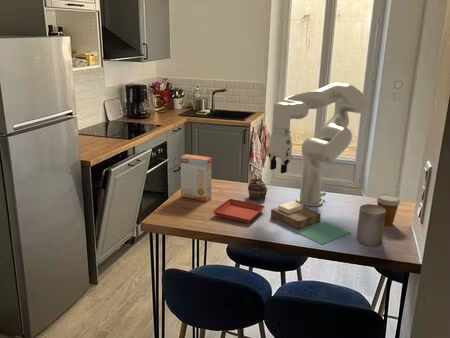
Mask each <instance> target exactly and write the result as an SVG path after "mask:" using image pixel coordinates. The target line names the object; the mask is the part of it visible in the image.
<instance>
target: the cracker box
mask: <svg viewBox="0 0 450 338" xmlns="http://www.w3.org/2000/svg"><path fill="white" fill-rule="evenodd" d="M212 159H213V158H212V157H211V156H210V157H209V156H205V155H203V156H202V155H196V154H188V153H185V154H184V155H181V156H180V195H181V196H180V197H181V198H184V197H185V198H186V199H191V200H197V201H202V202H208V201H209V200H210V199H212V170H213V169H212ZM185 198H184V199H185Z"/></svg>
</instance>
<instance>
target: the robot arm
mask: <svg viewBox="0 0 450 338" xmlns="http://www.w3.org/2000/svg"><path fill="white" fill-rule="evenodd" d="M331 104H334V113H333V115H332V117H331V118H330V119H329V120H328V121H327V122H326V123H325V124H324V125H323V126H322V127H321V128H320V130H319V131H318V133H317V138H316V137H308V138H306V139H305V140H304V141H303V142H302V145H301V156H302V157H301V158H302V167H301V168H302V169H301V180H300V190H299V191H300V192H299V193H300V194H299V196H297V197H296V201H295V202H297V203H299V204H302V205H303V207H304V206H305V207H319V206H322V205H323V203H324V200H323V199H322V197H324V196H326V195H327V194H326V191H322V180H323V179H322V178H323V169H324V168H323V163H326V164H329V163H333V162H334V161H335V160H336V159H337V158H338V157H339V156H340V155H341V154H342V153H343V152H344V151H345V150H346V149H347V148H348V147H349V145H350V143H351V141H352V137H353V133H352V131H351V130H350V129H349V128H348V126H349V124H350V120H349V113H353V114H354V113H355V114H363V113H366V112H367V111H368V109H369V108H370V100H369V98H368V96H367V95H365V94H364V93H363V92H362V91H361V90H359V89H358V88H357V87H355V86H354V85H353V84H349V83H342V82H332V83H329V84H327V85H324V86H322V87H320V88H317V89H316V90H311V91H306V92H301V93H295V94H293V95H289V96H288V97H287V96H286V97H285V98H283V99H282V100H281V101H278V102H277V101H276V102H275V103H274V104H273V111H272V127H271V128H272V129H271V133H270V136H269V145H268V148H267V150H266V154H267V155H268V158H269V161H270V164H269V167H270V168H269V170H276V169H277V158H280V159H281V165H280V174H285V173H287V172H288V165H289V163H290V162H291V161H292V160H294V157H293V155H292V154H293V153H292V149H293V144H292V136H291V130H290V129H291V120H301V119H304V118H306V117H307V116H308V114H309V111H310V110H319V109H323V108H325V107H327V106H329V105H331ZM321 191H322V192H321Z"/></svg>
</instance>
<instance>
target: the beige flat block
mask: <svg viewBox="0 0 450 338" xmlns="http://www.w3.org/2000/svg"><path fill="white" fill-rule="evenodd" d="M278 207H279V210H281V211H283V212H285V213H288V214H290V213H293V212H296V211H299V210H302V209H303V207H304V205H302V204H299V203H298V202H297V201H294V200H293V201H292V200H291V201H288V202H285V203H281V204H278Z"/></svg>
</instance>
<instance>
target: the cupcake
mask: <svg viewBox="0 0 450 338" xmlns="http://www.w3.org/2000/svg"><path fill="white" fill-rule="evenodd" d="M247 185H248V186H247V190H248V196H249V199H251V200H253V201H263V200H266V196H267V192H268V188H267V185H266V183H265V182H264V180H263V179H262V178H258V177H254V178H252V179H251V178H250V181H249V183H248V184H247Z"/></svg>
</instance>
